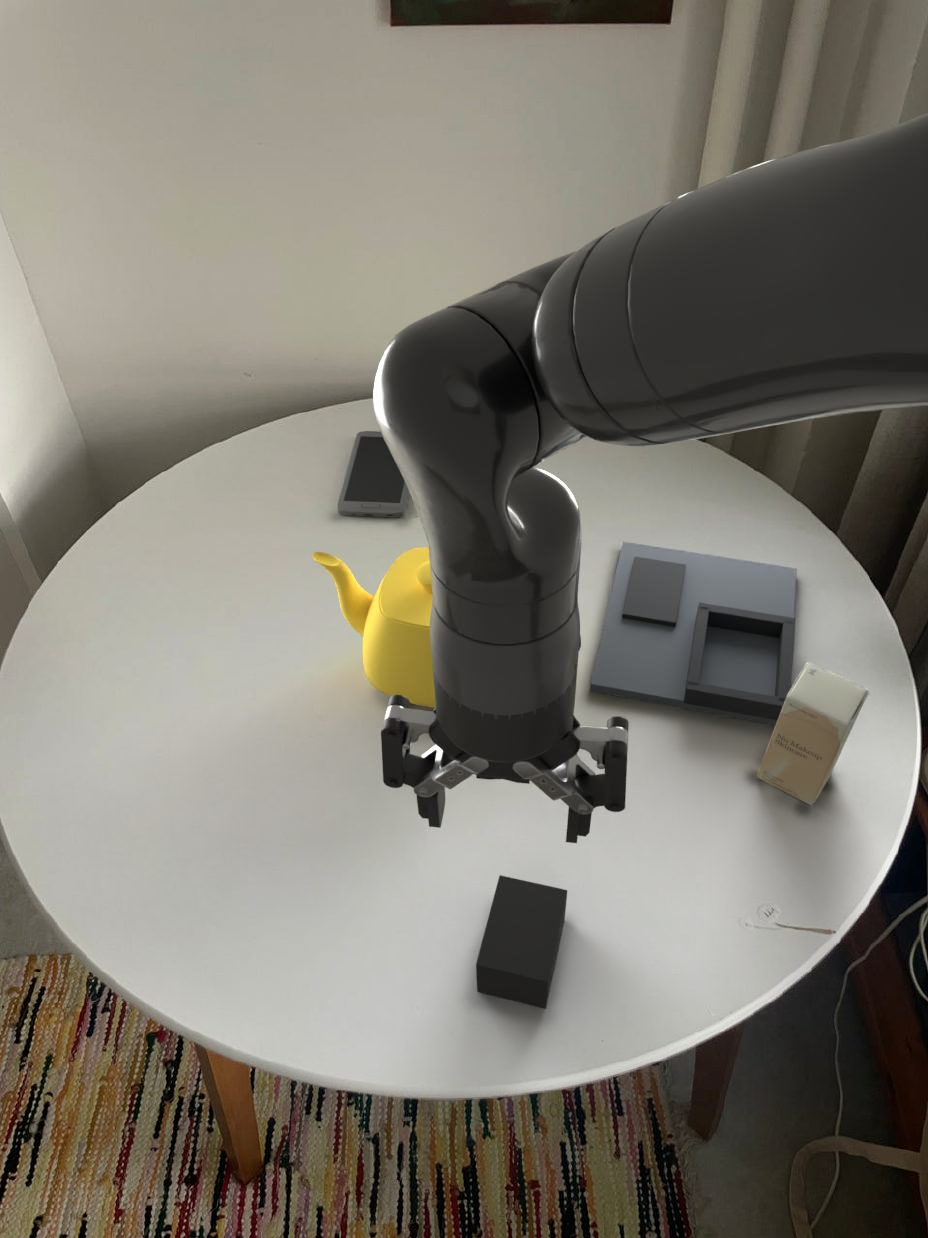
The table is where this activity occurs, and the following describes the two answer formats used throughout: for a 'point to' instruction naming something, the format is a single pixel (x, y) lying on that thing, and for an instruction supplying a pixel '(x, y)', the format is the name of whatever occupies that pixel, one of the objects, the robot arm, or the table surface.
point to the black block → (521, 941)
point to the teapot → (392, 624)
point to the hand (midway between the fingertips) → (504, 822)
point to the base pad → (698, 633)
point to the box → (811, 732)
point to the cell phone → (373, 480)
